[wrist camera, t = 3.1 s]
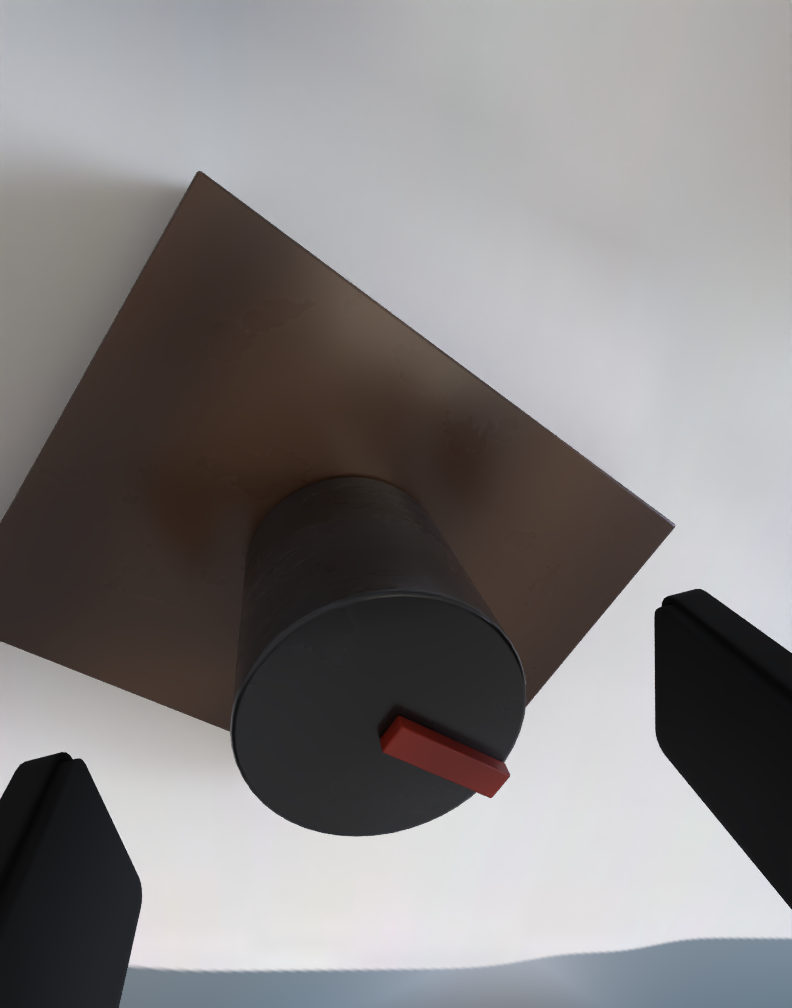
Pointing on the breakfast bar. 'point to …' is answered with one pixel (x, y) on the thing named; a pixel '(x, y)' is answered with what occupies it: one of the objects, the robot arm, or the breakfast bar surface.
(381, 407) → the panel
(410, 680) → the knob
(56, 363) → the breakfast bar surface
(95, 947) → the robot arm
